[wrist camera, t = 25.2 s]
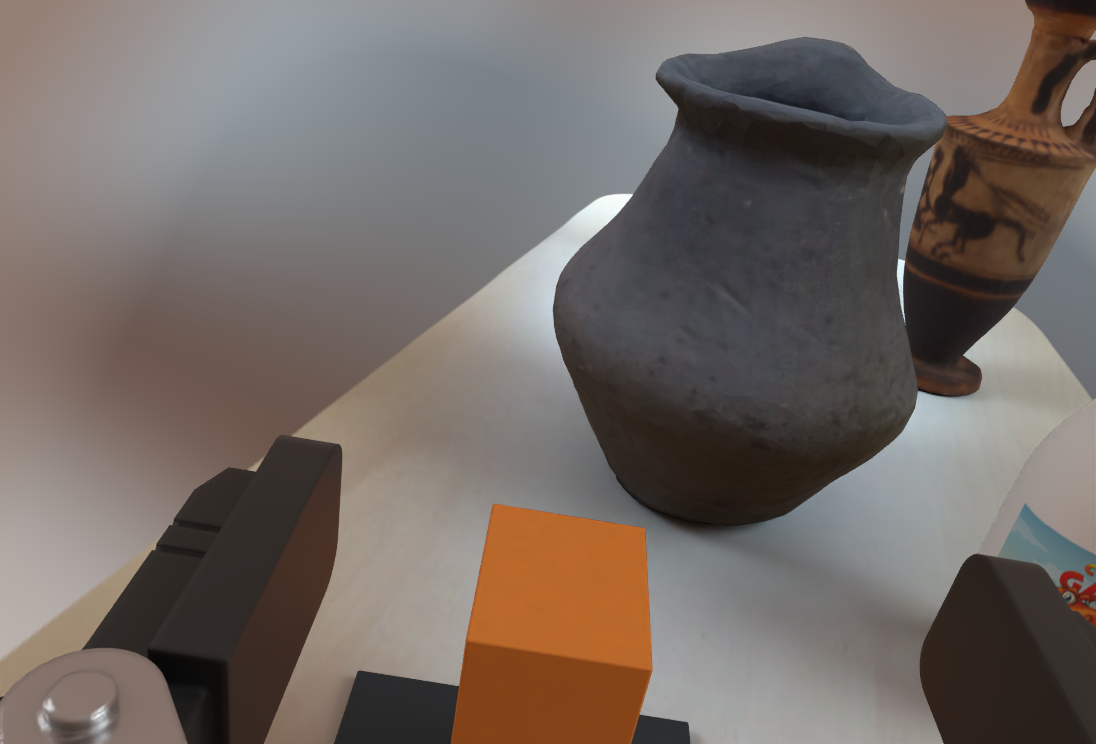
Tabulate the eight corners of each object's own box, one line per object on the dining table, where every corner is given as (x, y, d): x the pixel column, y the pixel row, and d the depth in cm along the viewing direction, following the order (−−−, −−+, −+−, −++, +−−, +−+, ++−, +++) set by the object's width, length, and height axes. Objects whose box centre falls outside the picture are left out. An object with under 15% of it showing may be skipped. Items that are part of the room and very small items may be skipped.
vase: (842, 368, 71) (986, -39, 56) (875, 328, 79) (1007, -35, 65) (983, 421, 66) (1177, -6, 52) (1002, 373, 75) (1174, -7, 60)
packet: (427, 904, 29) (465, 640, 23) (455, 749, 34) (493, 502, 28) (578, 928, 29) (653, 669, 23) (583, 769, 34) (646, 527, 29)
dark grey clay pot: (471, 508, 48) (537, 25, 36) (590, 353, 66) (660, -1, 55) (851, 644, 43) (1072, 139, 31) (867, 437, 62) (1009, 69, 50)
